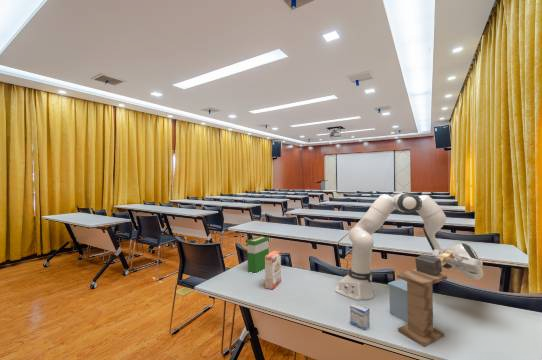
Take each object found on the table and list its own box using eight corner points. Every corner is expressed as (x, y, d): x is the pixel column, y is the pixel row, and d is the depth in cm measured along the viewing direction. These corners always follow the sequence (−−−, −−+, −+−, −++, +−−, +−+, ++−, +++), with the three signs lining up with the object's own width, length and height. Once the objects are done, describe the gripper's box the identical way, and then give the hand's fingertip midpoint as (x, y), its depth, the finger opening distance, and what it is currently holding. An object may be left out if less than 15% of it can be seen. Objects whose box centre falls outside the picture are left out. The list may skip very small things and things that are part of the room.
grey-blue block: (409, 304, 138) (409, 276, 138) (430, 314, 128) (429, 283, 128) (388, 312, 130) (387, 282, 130) (408, 323, 120) (407, 291, 120)
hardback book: (261, 265, 206) (260, 235, 206) (269, 266, 202) (268, 236, 202) (247, 272, 192) (247, 240, 191) (255, 274, 188) (254, 241, 187)
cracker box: (273, 290, 160) (272, 257, 160) (264, 288, 163) (264, 256, 162) (281, 281, 173) (281, 251, 173) (273, 280, 175) (273, 250, 175)
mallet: (442, 255, 129) (441, 243, 129) (460, 259, 122) (459, 247, 122) (416, 270, 118) (415, 258, 118) (434, 276, 111) (433, 263, 111)
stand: (421, 320, 122) (420, 267, 122) (448, 334, 112) (446, 275, 112) (397, 331, 115) (396, 274, 115) (424, 346, 104) (422, 283, 104)
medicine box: (349, 323, 122) (349, 305, 122) (354, 319, 125) (353, 302, 125) (365, 330, 116) (365, 311, 116) (370, 326, 119) (369, 308, 119)
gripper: (441, 252, 140) (428, 242, 134) (486, 263, 121) (473, 252, 116) (438, 263, 138) (424, 253, 133) (483, 275, 120) (469, 265, 115)
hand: (447, 253), depth 124 cm, fingers closed on mallet, 3 cm apart
